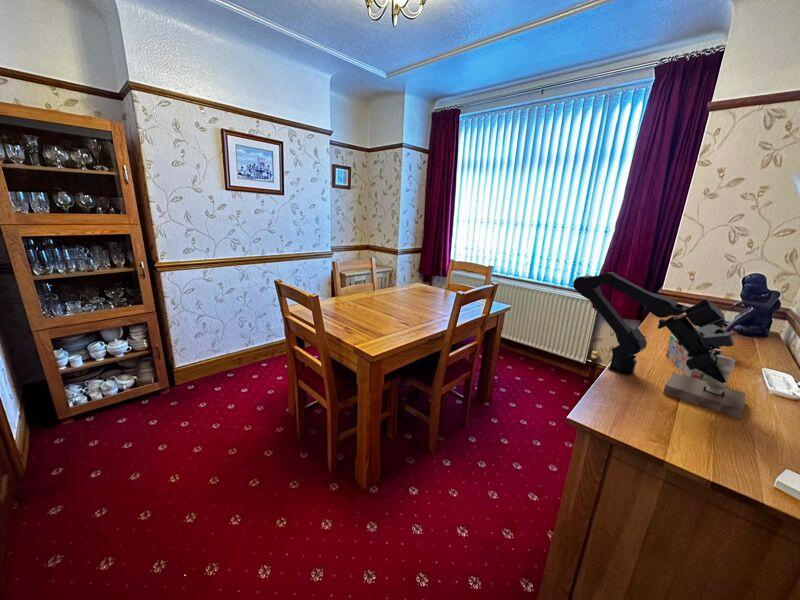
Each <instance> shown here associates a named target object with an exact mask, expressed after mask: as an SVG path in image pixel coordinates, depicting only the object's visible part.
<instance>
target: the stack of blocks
mask: <svg viewBox="0 0 800 600" xmlns="http://www.w3.org/2000/svg"><path fill="white" fill-rule="evenodd" d="M677 342H678V340H677V339H676V338H675V337H674V335H673V334H670V337H669V340H668V345H667V351H666V353H665V357H666V358H667V359H668V360H669V361H670V362H671V363H672V364H673V365H674V366H675V367H676V368H677V369H678V370H679V371H680V372H681V374H682V375H686V376H689V377H693V378H696V379H699V380H703V381H706V382H708V379H709V375H707V374H705V373H703V372H701V371H699V370H697V369H693V370H690V369H689V368H688V366H687V365H686V362H687V359H688V358H689V356H688V355H687V354H688V352H687V351H686V350H685V349H684V347H683V346H682V345H680V346H679V344H678V343H677ZM711 351H714V352H717V351H721V353H720V355H722V354H723V350H722V349H721V348H720V349H717V348H716V349H713V350H711Z"/></svg>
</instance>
